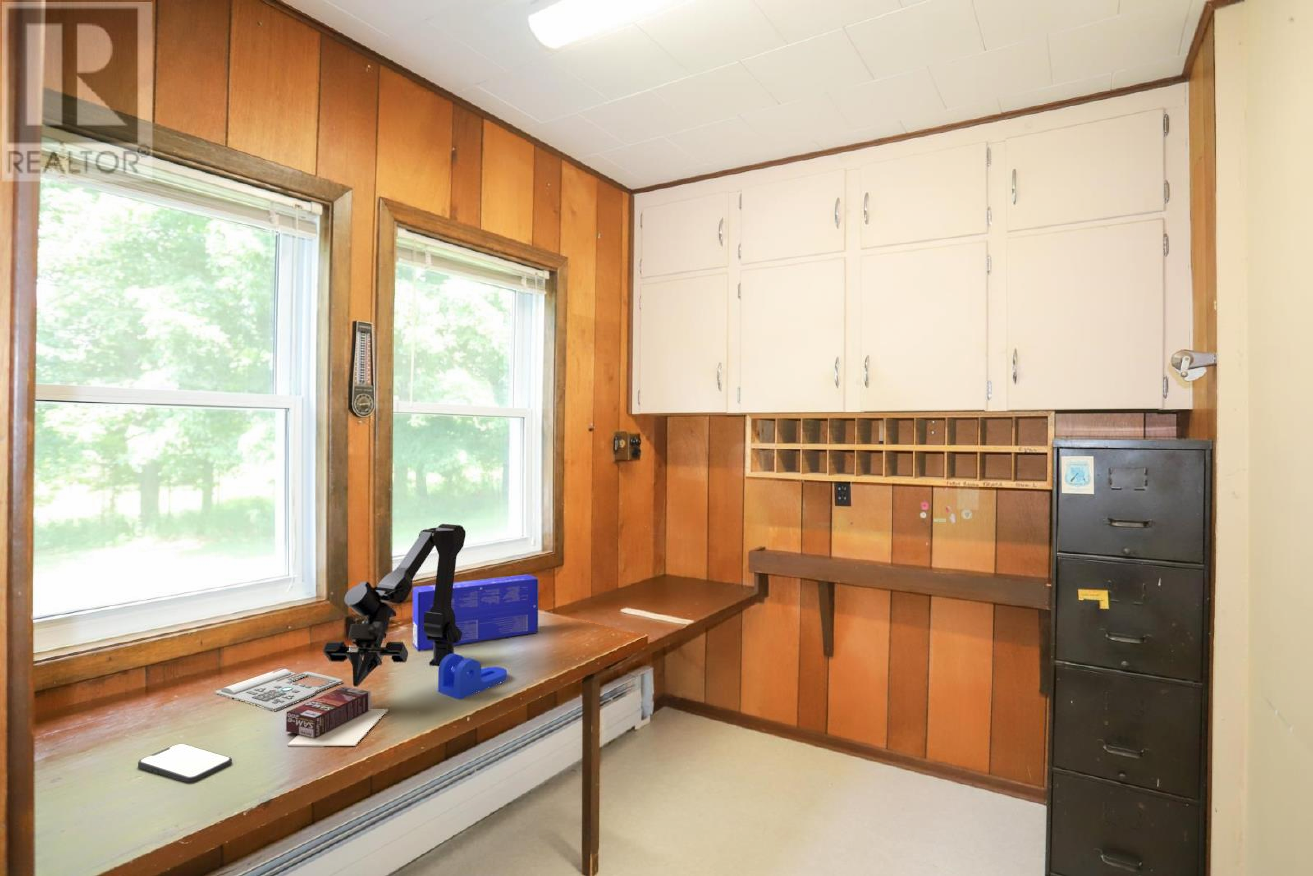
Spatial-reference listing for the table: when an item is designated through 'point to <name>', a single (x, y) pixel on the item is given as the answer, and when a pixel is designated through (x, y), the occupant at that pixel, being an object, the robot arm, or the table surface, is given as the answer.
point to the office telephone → (276, 689)
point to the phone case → (184, 763)
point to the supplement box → (328, 711)
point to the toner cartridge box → (483, 609)
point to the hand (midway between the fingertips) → (355, 685)
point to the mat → (343, 731)
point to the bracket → (466, 676)
